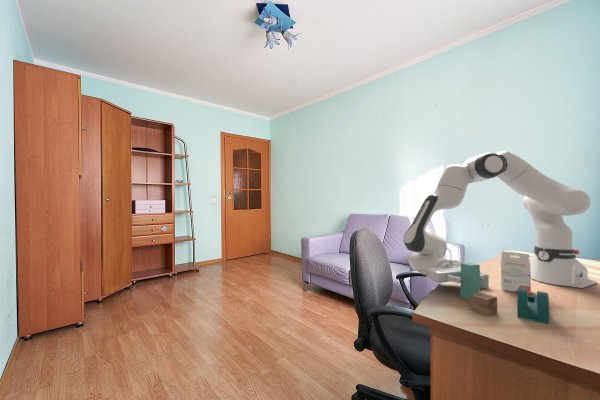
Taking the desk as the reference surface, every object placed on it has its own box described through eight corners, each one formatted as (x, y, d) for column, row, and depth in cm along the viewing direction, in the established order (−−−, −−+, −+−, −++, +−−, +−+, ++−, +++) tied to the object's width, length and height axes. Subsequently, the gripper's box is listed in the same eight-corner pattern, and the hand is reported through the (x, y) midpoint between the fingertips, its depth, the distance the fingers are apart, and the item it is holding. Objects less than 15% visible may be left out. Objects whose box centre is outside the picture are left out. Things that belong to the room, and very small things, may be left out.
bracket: (548, 324, 72) (548, 296, 72) (517, 317, 76) (517, 291, 76) (544, 304, 86) (544, 280, 86) (517, 299, 90) (517, 276, 90)
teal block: (469, 295, 94) (469, 262, 94) (479, 299, 90) (479, 264, 90) (460, 296, 93) (460, 262, 93) (470, 300, 89) (470, 265, 89)
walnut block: (479, 307, 84) (479, 291, 84) (497, 313, 79) (497, 297, 79) (470, 310, 82) (470, 294, 81) (487, 316, 77) (487, 299, 77)
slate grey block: (476, 283, 107) (476, 271, 107) (488, 287, 102) (488, 274, 102) (467, 284, 106) (467, 272, 106) (478, 288, 101) (478, 275, 101)
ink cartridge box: (530, 291, 97) (530, 252, 97) (530, 295, 94) (530, 254, 94) (502, 286, 103) (502, 249, 103) (500, 289, 99) (500, 251, 99)
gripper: (419, 263, 102) (447, 273, 88) (460, 260, 107) (493, 268, 94) (419, 279, 102) (447, 291, 88) (460, 275, 107) (493, 286, 94)
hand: (471, 279), depth 91 cm, fingers open, 8 cm apart
